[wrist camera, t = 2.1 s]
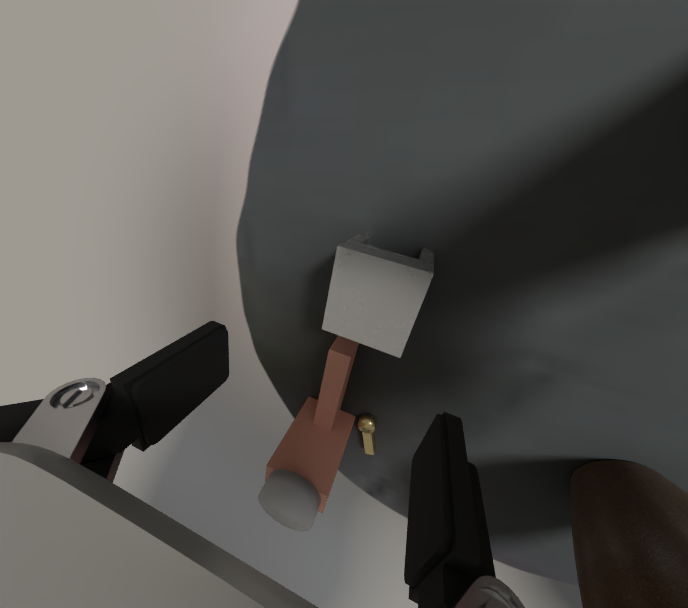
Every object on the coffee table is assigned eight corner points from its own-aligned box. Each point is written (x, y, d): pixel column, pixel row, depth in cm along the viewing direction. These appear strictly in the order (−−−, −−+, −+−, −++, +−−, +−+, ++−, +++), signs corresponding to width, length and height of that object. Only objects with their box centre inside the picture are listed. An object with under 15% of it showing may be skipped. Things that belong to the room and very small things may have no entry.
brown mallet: (322, 325, 28) (258, 401, 18) (379, 346, 27) (346, 441, 17) (304, 418, 36) (253, 508, 26) (348, 438, 35) (312, 541, 24)
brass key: (359, 412, 32) (356, 419, 31) (375, 414, 31) (373, 422, 30) (363, 444, 34) (361, 452, 33) (379, 448, 34) (377, 456, 33)
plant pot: (514, 505, 30) (583, 772, 16) (541, 415, 24) (686, 711, 10) (683, 551, 25) (991, 989, 11) (768, 452, 19) (1609, 1100, 6)
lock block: (362, 231, 23) (337, 245, 17) (433, 251, 21) (433, 273, 15) (347, 297, 26) (321, 329, 20) (408, 317, 25) (400, 358, 19)
